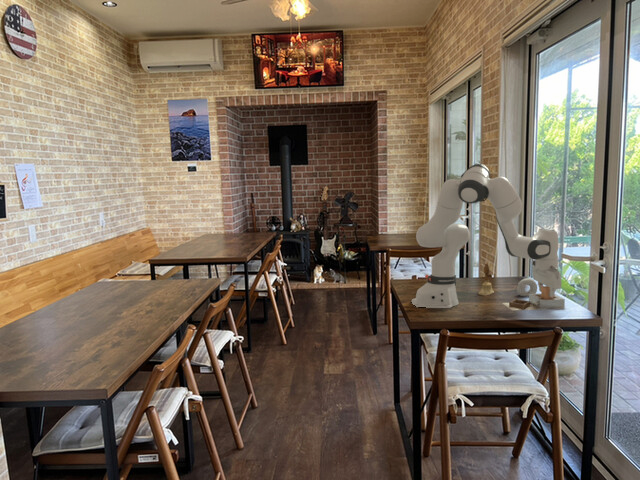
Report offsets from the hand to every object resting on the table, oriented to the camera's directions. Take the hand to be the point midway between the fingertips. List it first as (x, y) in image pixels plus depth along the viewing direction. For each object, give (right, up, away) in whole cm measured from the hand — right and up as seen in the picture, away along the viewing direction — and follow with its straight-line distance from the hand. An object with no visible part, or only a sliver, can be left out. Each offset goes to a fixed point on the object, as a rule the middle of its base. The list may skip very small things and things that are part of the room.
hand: (546, 294), depth 211 cm
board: (-6, -7, +1) cm, 9 cm away
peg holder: (-12, -6, +1) cm, 13 cm away
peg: (+1, -5, 0) cm, 5 cm away
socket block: (0, -5, +1) cm, 5 cm away
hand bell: (-16, -4, +30) cm, 34 cm away
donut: (0, -4, +19) cm, 19 cm away
